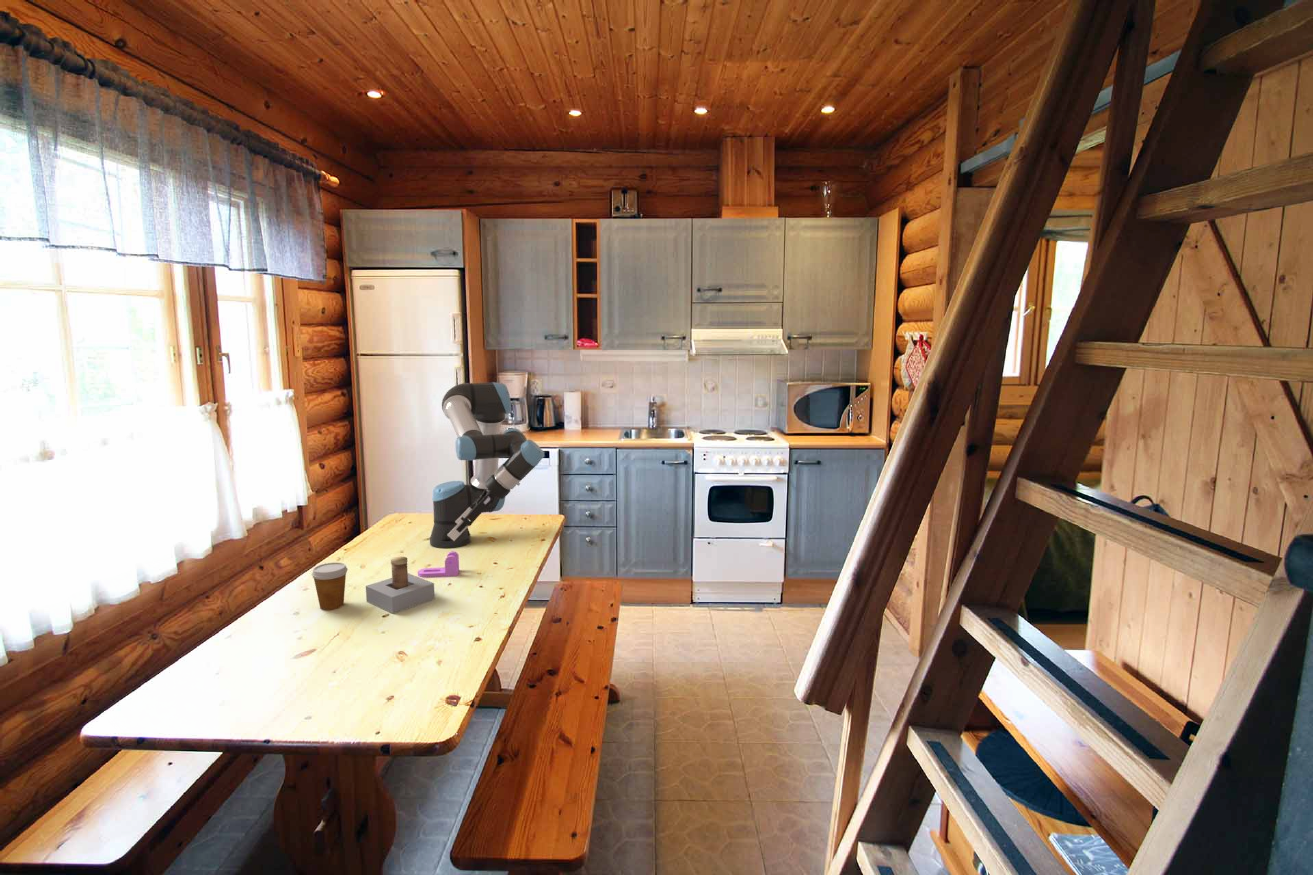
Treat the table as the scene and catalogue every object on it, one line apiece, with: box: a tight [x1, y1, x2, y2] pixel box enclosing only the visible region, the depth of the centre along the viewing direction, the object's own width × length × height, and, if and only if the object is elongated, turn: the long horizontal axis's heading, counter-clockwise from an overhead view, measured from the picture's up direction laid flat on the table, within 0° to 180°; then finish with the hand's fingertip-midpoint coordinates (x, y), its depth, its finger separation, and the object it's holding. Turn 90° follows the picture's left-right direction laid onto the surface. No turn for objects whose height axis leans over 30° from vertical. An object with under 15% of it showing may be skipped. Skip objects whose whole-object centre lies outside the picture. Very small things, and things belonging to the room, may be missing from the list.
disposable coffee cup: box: [311, 561, 348, 611], centre depth 195 cm, size 10×10×12 cm
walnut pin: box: [390, 556, 408, 590], centre depth 200 cm, size 5×5×13 cm
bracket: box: [417, 551, 460, 579], centre depth 222 cm, size 13×6×7 cm, turn 99°
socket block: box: [365, 573, 436, 615], centre depth 200 cm, size 14×14×5 cm
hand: (454, 530), depth 204 cm, fingers open, 13 cm apart
